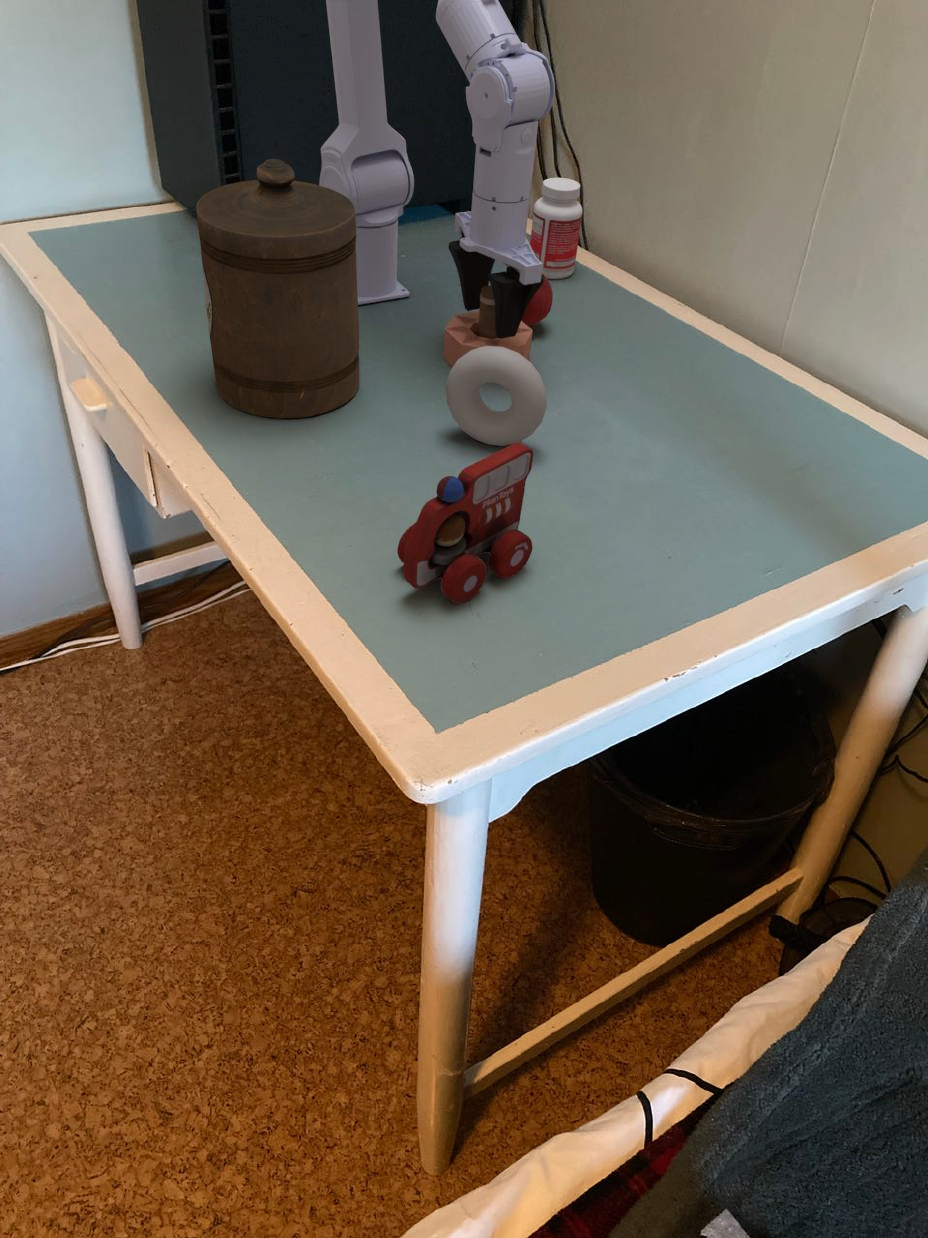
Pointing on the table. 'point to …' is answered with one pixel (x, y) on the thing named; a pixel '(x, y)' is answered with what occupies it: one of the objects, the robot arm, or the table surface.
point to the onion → (539, 305)
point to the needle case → (487, 314)
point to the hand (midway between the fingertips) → (489, 321)
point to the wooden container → (281, 293)
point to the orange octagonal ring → (480, 338)
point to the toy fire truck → (471, 526)
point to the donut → (507, 373)
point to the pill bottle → (557, 227)
